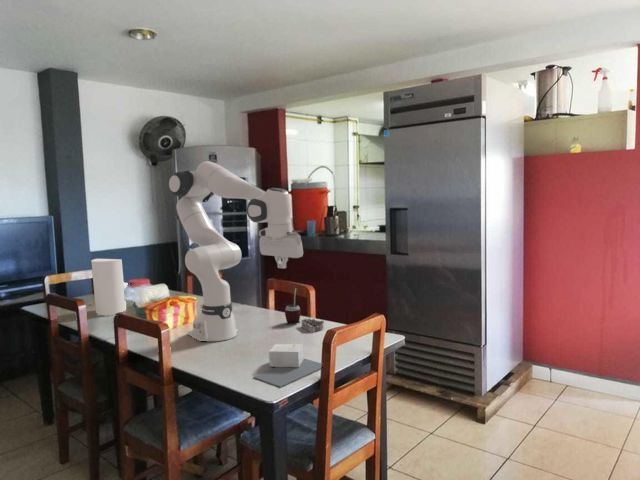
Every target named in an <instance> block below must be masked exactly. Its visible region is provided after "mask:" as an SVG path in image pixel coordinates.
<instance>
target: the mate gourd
mask: <svg viewBox="0 0 640 480" xmlns="http://www.w3.org/2000/svg"><path fill="white" fill-rule="evenodd" d="M296 292H297V288H295V289H294V293H293V304H288V305H286V307H285V309H284V316H285V321H286V325H292V324H293V325H295V326H297V324H298V323H300V322H301V313H302V312H301V308H300V306H299V305H297V304H296Z"/></svg>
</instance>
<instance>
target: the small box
mask: <svg viewBox="0 0 640 480" xmlns="http://www.w3.org/2000/svg"><path fill="white" fill-rule="evenodd" d="M304 350H305V349H304V344H300V343H299V344H297V343H296V344H288V343H284V344H282V343H281V344H280V343H275V344H274V345H273V346H272V347H271V348H270V349H269V351H268V359H269V367H270V368H276V367H299V366H300V365H301V363H302V361H303V360H304V359H305V353H304Z"/></svg>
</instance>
